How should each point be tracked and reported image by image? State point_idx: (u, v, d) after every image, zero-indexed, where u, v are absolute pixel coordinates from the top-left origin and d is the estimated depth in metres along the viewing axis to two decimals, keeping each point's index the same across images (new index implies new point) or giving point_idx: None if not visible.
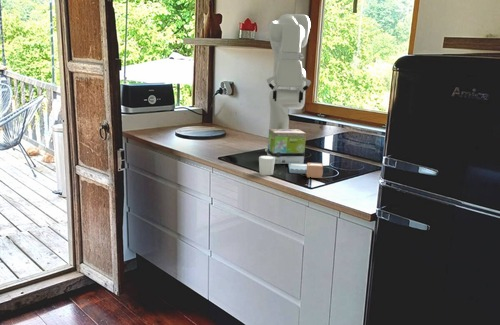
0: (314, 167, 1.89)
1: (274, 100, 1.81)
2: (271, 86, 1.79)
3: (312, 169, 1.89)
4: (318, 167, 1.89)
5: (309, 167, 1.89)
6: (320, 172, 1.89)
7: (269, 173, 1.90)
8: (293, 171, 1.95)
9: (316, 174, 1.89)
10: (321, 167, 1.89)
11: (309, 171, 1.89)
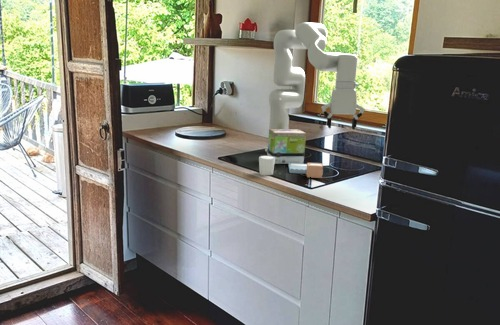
0: (314, 167, 1.89)
1: (328, 127, 1.86)
2: (326, 113, 1.85)
3: (312, 169, 1.89)
4: (318, 167, 1.89)
5: (309, 167, 1.89)
6: (320, 172, 1.89)
7: (269, 173, 1.90)
8: (293, 171, 1.95)
9: (316, 174, 1.89)
10: (321, 167, 1.89)
11: (309, 171, 1.89)
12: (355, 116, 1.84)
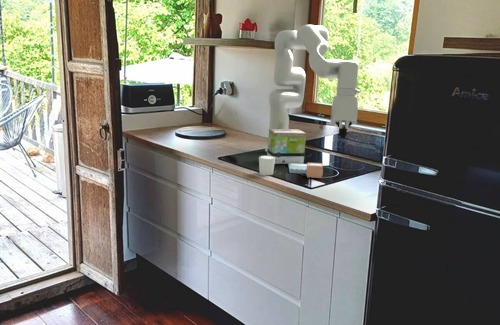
0: (314, 167, 1.89)
1: (340, 137, 1.87)
2: (338, 124, 1.85)
3: (312, 169, 1.89)
4: (318, 167, 1.89)
5: (309, 167, 1.89)
6: (320, 172, 1.89)
7: (269, 173, 1.90)
8: (293, 171, 1.95)
9: (316, 174, 1.89)
10: (321, 167, 1.89)
11: (309, 171, 1.89)
12: (347, 125, 1.85)
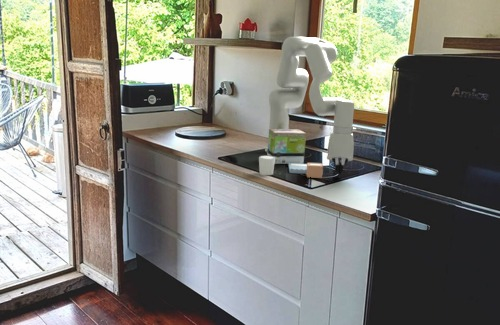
0: (314, 167, 1.89)
1: None
2: (334, 160, 1.89)
3: (312, 169, 1.89)
4: (318, 167, 1.89)
5: (309, 167, 1.89)
6: (320, 172, 1.89)
7: (269, 173, 1.90)
8: (293, 171, 1.95)
9: (316, 174, 1.89)
10: (321, 167, 1.89)
11: (309, 171, 1.89)
12: (343, 162, 1.89)
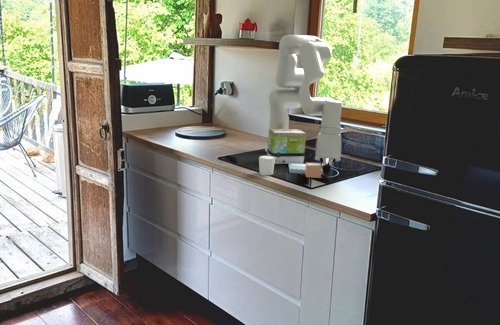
0: (313, 167, 1.89)
1: (324, 173, 1.91)
2: (322, 160, 1.90)
3: (311, 169, 1.89)
4: (317, 167, 1.89)
5: (308, 167, 1.89)
6: (319, 172, 1.89)
7: (269, 173, 1.90)
8: (293, 171, 1.95)
9: (315, 174, 1.89)
10: (320, 167, 1.89)
11: (308, 171, 1.89)
12: (331, 162, 1.89)
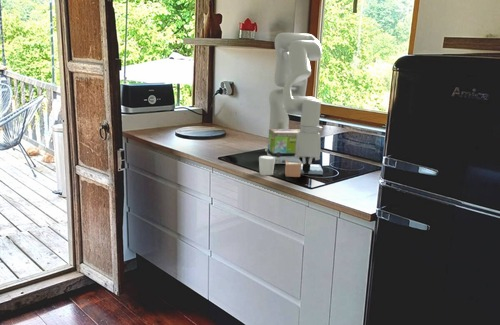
0: (292, 166, 1.89)
1: (304, 172, 1.91)
2: (301, 159, 1.90)
3: (290, 168, 1.89)
4: (296, 166, 1.89)
5: (287, 166, 1.89)
6: (298, 171, 1.89)
7: (269, 173, 1.90)
8: None
9: (294, 173, 1.89)
10: (299, 166, 1.89)
11: (287, 170, 1.89)
12: (310, 161, 1.89)
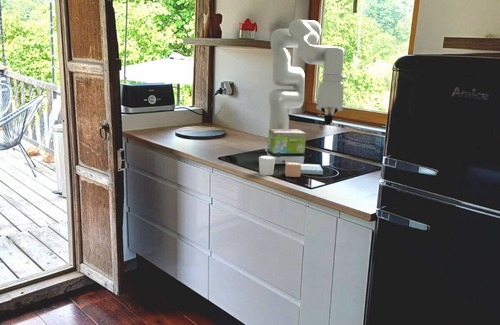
0: (292, 166, 1.89)
1: (326, 123, 1.86)
2: (323, 110, 1.85)
3: (290, 168, 1.89)
4: (296, 166, 1.89)
5: (287, 166, 1.89)
6: (298, 171, 1.89)
7: (269, 173, 1.90)
8: None
9: (294, 173, 1.89)
10: (299, 166, 1.89)
11: (287, 170, 1.89)
12: (332, 111, 1.84)
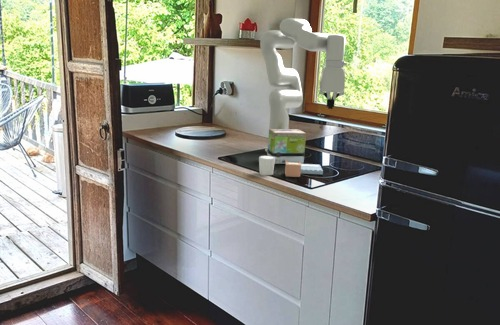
0: (292, 166, 1.89)
1: (328, 108, 1.96)
2: (326, 95, 1.94)
3: (290, 168, 1.89)
4: (296, 166, 1.89)
5: (287, 166, 1.89)
6: (298, 171, 1.89)
7: (269, 173, 1.90)
8: None
9: (294, 173, 1.89)
10: (299, 166, 1.89)
11: (287, 170, 1.89)
12: (334, 96, 1.94)
